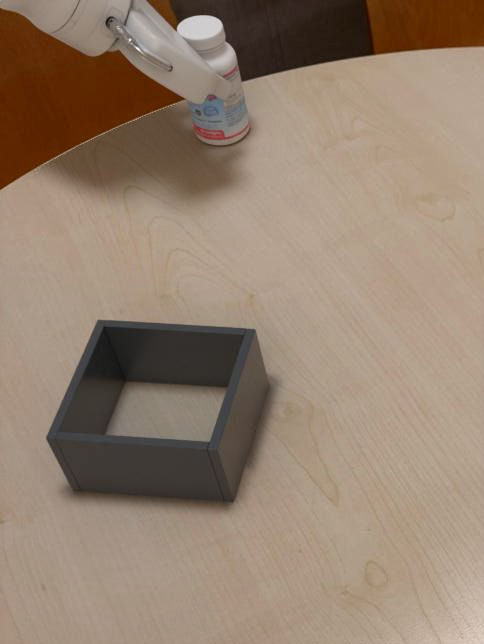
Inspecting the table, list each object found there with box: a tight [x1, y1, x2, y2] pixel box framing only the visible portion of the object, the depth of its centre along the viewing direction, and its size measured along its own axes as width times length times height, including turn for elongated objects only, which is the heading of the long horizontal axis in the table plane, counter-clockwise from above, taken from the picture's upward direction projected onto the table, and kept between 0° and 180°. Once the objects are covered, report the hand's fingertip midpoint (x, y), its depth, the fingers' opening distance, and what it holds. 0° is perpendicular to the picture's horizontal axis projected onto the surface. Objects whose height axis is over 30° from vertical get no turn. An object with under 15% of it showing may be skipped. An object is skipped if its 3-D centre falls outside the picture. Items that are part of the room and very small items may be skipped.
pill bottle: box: [176, 14, 251, 146], centre depth 112 cm, size 6×6×11 cm
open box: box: [45, 319, 270, 503], centre depth 88 cm, size 14×14×8 cm
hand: (206, 69), depth 111 cm, fingers open, 8 cm apart
